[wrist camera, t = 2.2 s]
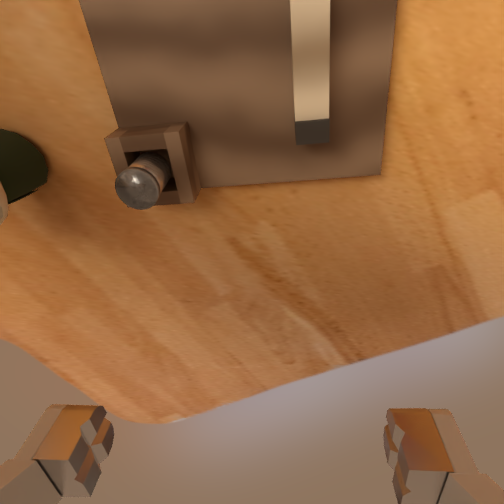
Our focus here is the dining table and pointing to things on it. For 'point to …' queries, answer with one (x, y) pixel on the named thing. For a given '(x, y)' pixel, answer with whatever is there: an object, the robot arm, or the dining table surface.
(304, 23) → the folding leg
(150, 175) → the leg peg
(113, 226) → the dining table surface
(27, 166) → the character mug
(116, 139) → the wooden desk organizer
